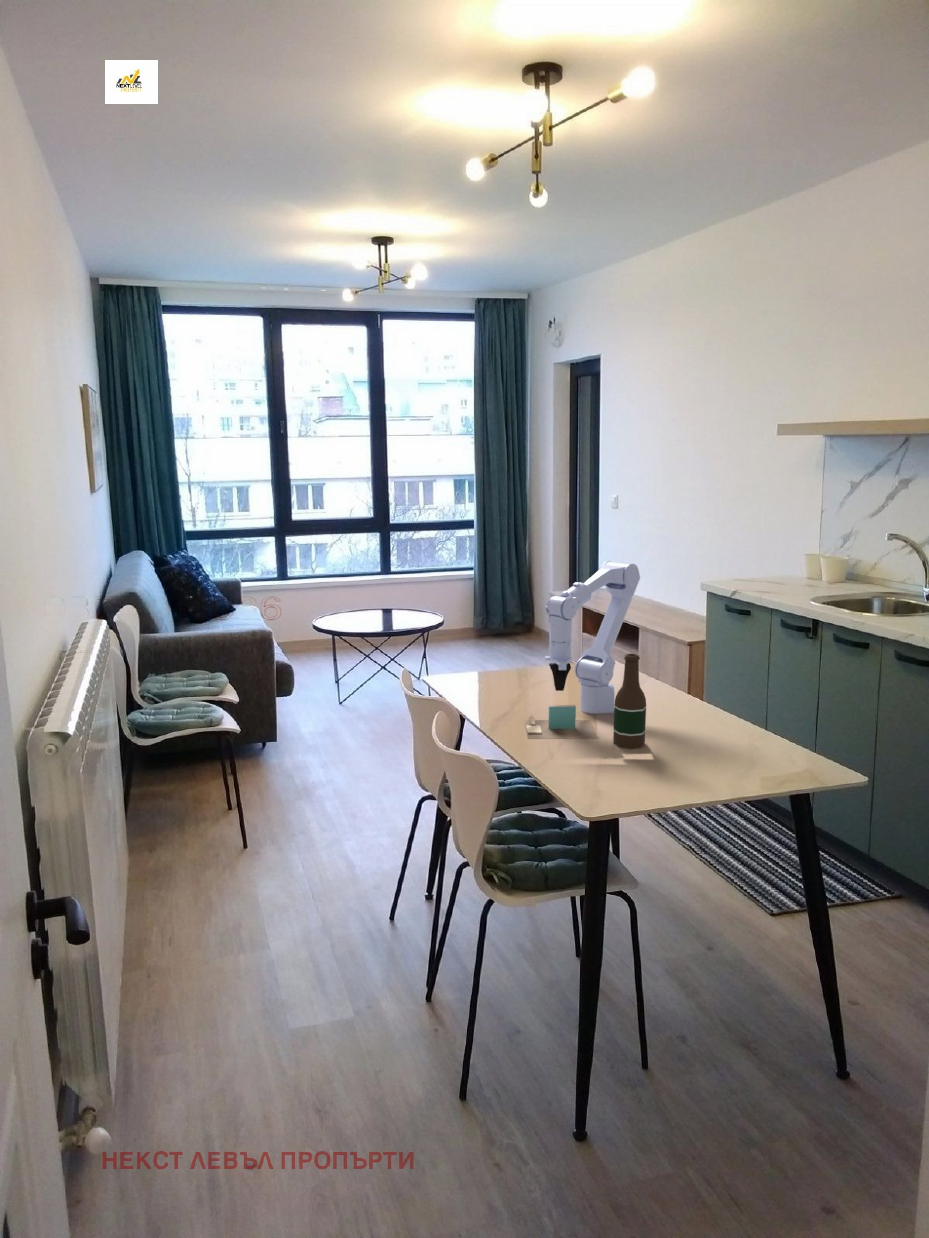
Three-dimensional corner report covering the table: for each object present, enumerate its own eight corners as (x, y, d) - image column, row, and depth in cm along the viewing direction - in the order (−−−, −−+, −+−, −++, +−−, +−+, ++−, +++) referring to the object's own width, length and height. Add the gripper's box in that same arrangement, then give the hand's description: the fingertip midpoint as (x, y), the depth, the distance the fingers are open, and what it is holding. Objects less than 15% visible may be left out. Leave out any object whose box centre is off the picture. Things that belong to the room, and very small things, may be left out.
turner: (537, 718, 244) (537, 715, 244) (541, 734, 231) (541, 731, 230) (524, 718, 244) (524, 715, 244) (527, 734, 231) (527, 731, 230)
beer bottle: (606, 747, 224) (609, 654, 219) (626, 741, 229) (629, 649, 224) (630, 755, 218) (634, 659, 213) (651, 749, 223) (654, 655, 218)
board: (590, 724, 243) (590, 720, 243) (598, 743, 227) (598, 738, 227) (524, 724, 243) (524, 720, 243) (527, 742, 227) (527, 738, 227)
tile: (574, 726, 237) (575, 705, 236) (575, 728, 235) (575, 706, 234) (548, 726, 237) (548, 705, 236) (548, 728, 235) (549, 706, 234)
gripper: (543, 635, 246) (542, 683, 249) (547, 646, 232) (546, 697, 235) (569, 635, 246) (567, 683, 249) (574, 646, 232) (573, 697, 235)
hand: (559, 690), depth 242 cm, fingers closed
